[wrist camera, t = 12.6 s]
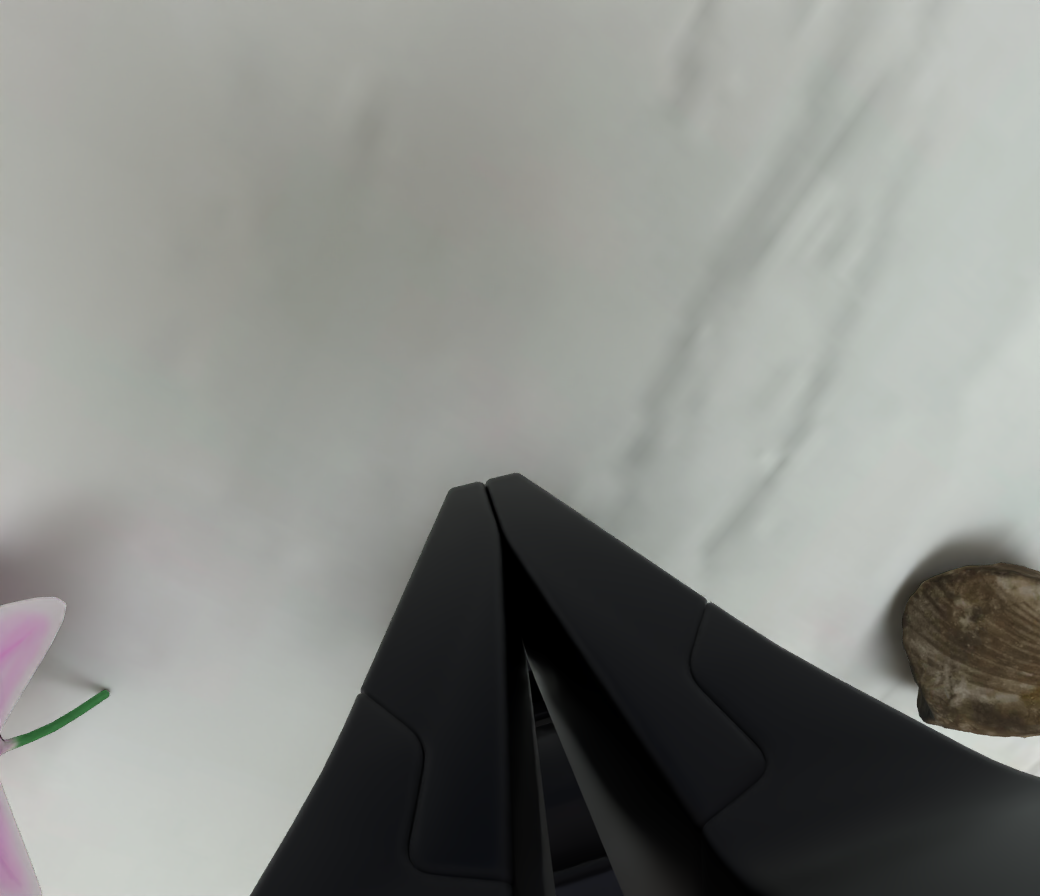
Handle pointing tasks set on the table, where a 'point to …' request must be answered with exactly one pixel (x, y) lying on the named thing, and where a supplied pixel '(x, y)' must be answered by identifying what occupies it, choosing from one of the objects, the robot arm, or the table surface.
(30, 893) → the lily
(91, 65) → the table surface
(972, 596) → the fossilized seashell
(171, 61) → the table surface
